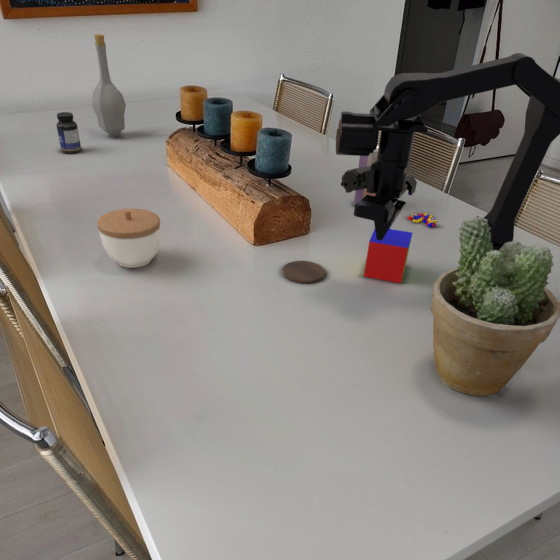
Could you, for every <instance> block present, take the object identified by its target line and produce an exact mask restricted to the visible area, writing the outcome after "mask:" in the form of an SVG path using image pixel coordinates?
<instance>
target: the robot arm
mask: <svg viewBox="0 0 560 560" xmlns="http://www.w3.org/2000/svg"><path fill="white" fill-rule="evenodd" d="M512 86H516V87H517V88H518V89H519V90H520V91H521V92H523V93H524V94H525V95H526V96H527V97H528V99H529V100H528V103H527V107H526V110H525V119H524V131H523V136H522V138H521V141H520V143H519V145H518V146H517V147H518V148H517V150H516V152H515V155H514V157H513V159H512V162H511V164H510V166H509V168H508V170H507V173H506V175H505V178H504V180H503V182H502V184H501V186H500V189H499V192H498V194H497V196H496V197H495V201H494V203H493V205H492V208H490V211H489V212H488V213H487V214H486V215H485V216H483V218H484V219H486V220H488V221H487V223H488V226H489V228H491V229H490V231H489V232H490V233H491V235H490V236H491V239H490V240H491V241H490V243H492V244H493V245H492V246H493V250H497V251H499V249H500V248H502V247H503V245H504V243H507V242H512V241H514V237H515V236H514V235H515V222H516V220H517V219H516V218H517V217H518V215H519V213H520V210H521V208H522V206H523V204H524V201H525V199H526V198H527V195H528V193H529V191H530V189H531V186H532V184H533V182H534V180H535V178H536V176H537V174H538V172H539V170H540V167H541V165H542V163H543V161H544V159H545V156H546V154H547V153H548V150H549V148H550V146H551V145H552V143H553V142H554V141H555V140H556V139H557V138H558V137H559V136H560V78H558V77H555V76H554V77H553V76H552V75H551V74H550V73H548V72H547V71H546V70H545V69H544V68H542V67H541V66H540V65H539V64H538V63H537V62H536V60H535V59H534V58H533V57H531V56H529V55H527V54H524V53H522V52H515V53H513V54H511V55H509V56H506V57H502V58H497V59H492V60H489V61H486V62H485V61H484V62H481V63H477V64H473V65H468V66H464V67H460V68H456V69H452V70H447V71H443V72H435V73H434V72H433V73H432V72H404V73H403V72H402V73H398V74H396V75H394V76H392V77H391V78H390V79H389V81H388V82H387V84H386V85H385V87H384V90H383V94H382V95H381V97H380V98H379V99H378V100H377V101H376V103H375V104H374V105H373V106H372V108H371V109H369V113H359V112H351V111H344V110H342V111H341V112H340V119H339V120H338V125H337V126H338V127H337V128H336V132H335V134H336V135H335V154H336V156H354V157H355V156H356V157H360V156H369V155H370V153H373V152H374V150H376V148H377V145H378V146H379V148H378V155H377V160H376V161H375V162H374V163H373V164H372V165H371V166H366V167H360V168H358V167H355V168H350V169H347V170H346V171H344V174H342V175H341V182H340V186H341V187H343V188H344V190H345V193H347V194H348V193H349V194H350V193H352V192H355V190H361V189H366V188H367V191H366V192H367V193H372V194H373V193H376V194H375V196H371V195H366V196H365V197H363V198H362V199H361V200H360V201H358V202H357V203H356V204H355V203H354V210H353V216H354V217H356V218H360V219H363V220H364V219H365V220H369V221H373V224H374V229H375V232H376V239H377V240H380V241H382V240H383V238H384V237H385V235H386V234H387V232H388V230H389V229H391V227H392V225H393V224H394V223H395V221H396V220H397V218H398V216H399V215H400V213H401V212H402V210H403V208H404V207H405V206H406V203H407V202H406V201H405V200H400V198H401V197H402V196H403V195H404V194H405V193H406V191H407V194H408V196H412V195H414V193H415V192H416V188H417V184H418V183H417V180H416V178H415V177H414V176H413V175H408V171H409V170H410V169H411V168H412V164H413V161H411V156H412V150H413V145H414V139H415V134H416V133H423V134H424V133H425V134H426V133H427V132H428V131H429V128H428V126H426V124H425V123H424V121H423V119H422V116H421V115H422V114H425V113H426V112H429V111H431V110H432V109H433V108H435V107H437V106H438V105H440V104H443V103H445V102H447V101H451V100H456V99H460V98H464V97H470V96H473V95H477V94H481V93H486V92H490V91H495V90H499V89H503V88H507V87H512ZM379 134H380V136H379ZM378 142H379V143H378ZM476 217H480V216H479V215H478V216H476Z"/></svg>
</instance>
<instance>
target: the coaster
mask: <svg viewBox="0 0 560 560" xmlns="http://www.w3.org/2000/svg"><path fill="white" fill-rule="evenodd" d="M325 274H326V270H325V268H324V267H323V266H322V265H320V264H318V263H316V262H312V261H309V260H308V261H307V260H296V261H295V260H293V261H291V262H288V263H286V264H285V265H284V266H283V267H282V275H283V276H284V278H286V279H287V280H289V281H290V282H293V283H297V284H315V283H318V282H320V281H321V280H323V279H324V277H325Z"/></svg>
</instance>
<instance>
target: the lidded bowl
mask: <svg viewBox="0 0 560 560" xmlns="http://www.w3.org/2000/svg"><path fill="white" fill-rule="evenodd" d="M96 226H97V230H98V232H99V237H100V241H101V244H102V246H103V248H104V251H105V252H106V254H107V255H108V256H109V257H110V258H111V260H113V261H115V262H116V263H117V264H118V266H121V267H122V268H128V269H136V268H137V269H138V268H142V267H146V266H147V265H149V264H150V263H151V262H152V259H154V257H155V256H156V255H157V253H158V251H159V249H160V246H161V219H160V216H159V215H158V214H157V213H155V212H153V211H151V210H147V209H144V208H122V209H121V208H120V209H116V210H112V211H109V212H106V213H104V214H102V215H101V216H100V217H99V218H98V219H97V222H96Z"/></svg>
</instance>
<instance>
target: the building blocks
mask: <svg viewBox="0 0 560 560" xmlns="http://www.w3.org/2000/svg"><path fill="white" fill-rule="evenodd" d="M407 219H408V220H409V221H412V222H413V223H416V224H419V223H421V222H423V223H424V224H426V226H427V227H429V228H436V226H437V222H438V220H437V219H436V218H434V217H433V214H430V215H429V213H428V212H424V213H421V212H420V213H418V214H416V213H411V215H410V216H407Z"/></svg>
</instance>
